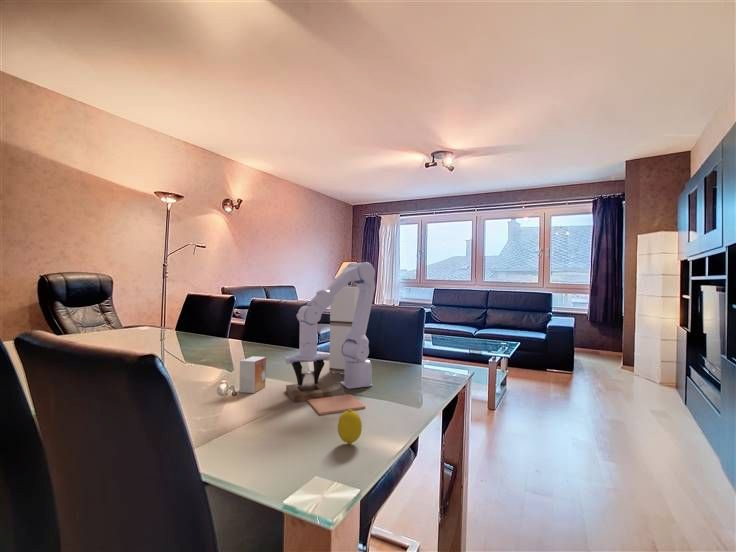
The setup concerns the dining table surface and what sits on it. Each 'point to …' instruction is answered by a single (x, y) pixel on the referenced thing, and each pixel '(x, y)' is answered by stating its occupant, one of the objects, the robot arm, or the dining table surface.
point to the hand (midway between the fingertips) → (307, 384)
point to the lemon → (349, 426)
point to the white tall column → (341, 325)
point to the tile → (335, 404)
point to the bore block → (308, 392)
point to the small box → (252, 374)
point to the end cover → (307, 381)
